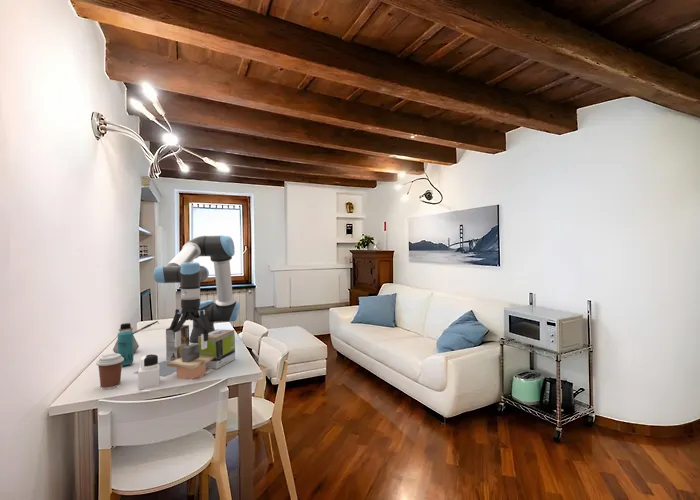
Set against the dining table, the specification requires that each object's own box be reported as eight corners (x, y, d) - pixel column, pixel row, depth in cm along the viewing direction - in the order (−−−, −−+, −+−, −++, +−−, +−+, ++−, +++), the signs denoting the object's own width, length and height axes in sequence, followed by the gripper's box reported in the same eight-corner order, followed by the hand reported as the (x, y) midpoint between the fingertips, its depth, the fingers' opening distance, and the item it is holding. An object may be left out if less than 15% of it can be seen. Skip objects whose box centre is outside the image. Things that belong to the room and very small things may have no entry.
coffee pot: (114, 357, 174) (114, 328, 174) (111, 352, 183) (111, 324, 183) (161, 349, 188) (161, 322, 188) (156, 345, 197) (156, 319, 197)
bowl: (189, 369, 156) (189, 357, 156) (210, 371, 153) (210, 359, 153) (170, 378, 145) (170, 365, 145) (192, 381, 142) (192, 367, 142)
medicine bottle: (159, 381, 142) (159, 352, 142) (159, 387, 136) (159, 356, 136) (139, 384, 139) (139, 354, 139) (138, 390, 133) (138, 359, 133)
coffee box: (178, 356, 176) (178, 324, 176) (189, 356, 175) (189, 325, 175) (165, 361, 167) (165, 328, 167) (177, 362, 166) (177, 329, 166)
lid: (188, 356, 157) (188, 341, 157) (213, 358, 153) (213, 342, 153) (166, 366, 144) (166, 349, 144) (193, 368, 141) (193, 351, 141)
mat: (163, 362, 167) (163, 360, 167) (193, 365, 162) (193, 363, 162) (132, 374, 150) (132, 373, 150) (164, 377, 146) (164, 376, 146)
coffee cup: (125, 386, 137) (125, 356, 137) (97, 392, 131) (96, 361, 131) (122, 379, 144) (122, 351, 144) (95, 385, 138) (95, 355, 138)
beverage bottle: (119, 365, 163) (118, 322, 163) (135, 363, 165) (135, 321, 165) (115, 369, 157) (115, 325, 157) (132, 367, 159) (131, 324, 159)
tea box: (218, 358, 173) (218, 328, 173) (235, 359, 170) (235, 329, 170) (197, 368, 158) (197, 335, 158) (216, 369, 156) (216, 337, 156)
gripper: (160, 298, 149) (160, 348, 148) (209, 300, 142) (209, 352, 142) (173, 296, 156) (173, 343, 156) (221, 297, 149) (221, 347, 149)
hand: (190, 347), depth 149 cm, fingers open, 13 cm apart
